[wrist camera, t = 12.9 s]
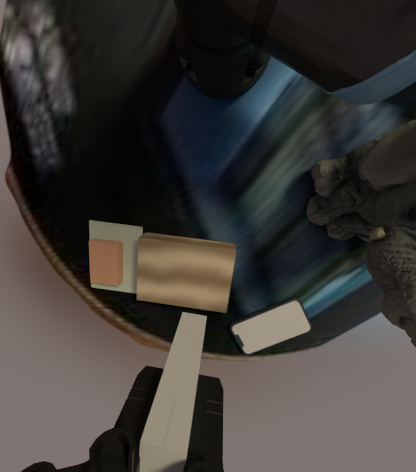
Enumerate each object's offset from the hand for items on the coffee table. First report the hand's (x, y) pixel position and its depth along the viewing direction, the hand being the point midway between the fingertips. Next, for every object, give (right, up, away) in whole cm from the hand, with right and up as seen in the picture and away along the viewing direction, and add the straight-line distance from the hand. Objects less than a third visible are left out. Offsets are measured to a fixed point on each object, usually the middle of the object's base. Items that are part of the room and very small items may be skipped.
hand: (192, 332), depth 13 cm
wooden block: (-3, -1, +30) cm, 30 cm away
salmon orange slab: (-20, 0, +29) cm, 35 cm away
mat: (-18, +1, +31) cm, 36 cm away
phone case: (+14, -13, +33) cm, 38 cm away
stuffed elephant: (+27, +14, +24) cm, 39 cm away
